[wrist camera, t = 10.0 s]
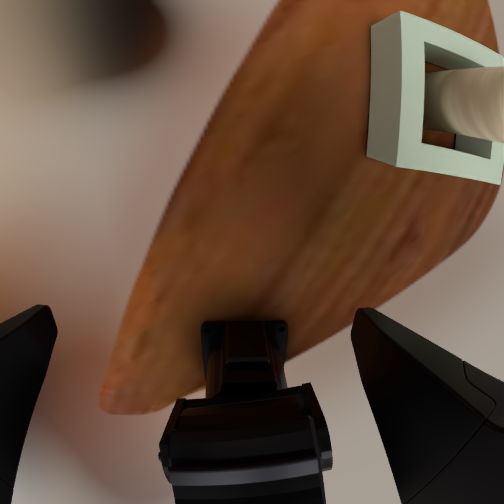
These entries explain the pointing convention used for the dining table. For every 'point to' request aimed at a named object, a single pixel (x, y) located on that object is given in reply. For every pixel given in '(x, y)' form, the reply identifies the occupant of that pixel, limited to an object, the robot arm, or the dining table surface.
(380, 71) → the socket
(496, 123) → the peg
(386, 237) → the dining table surface
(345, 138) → the dining table surface
